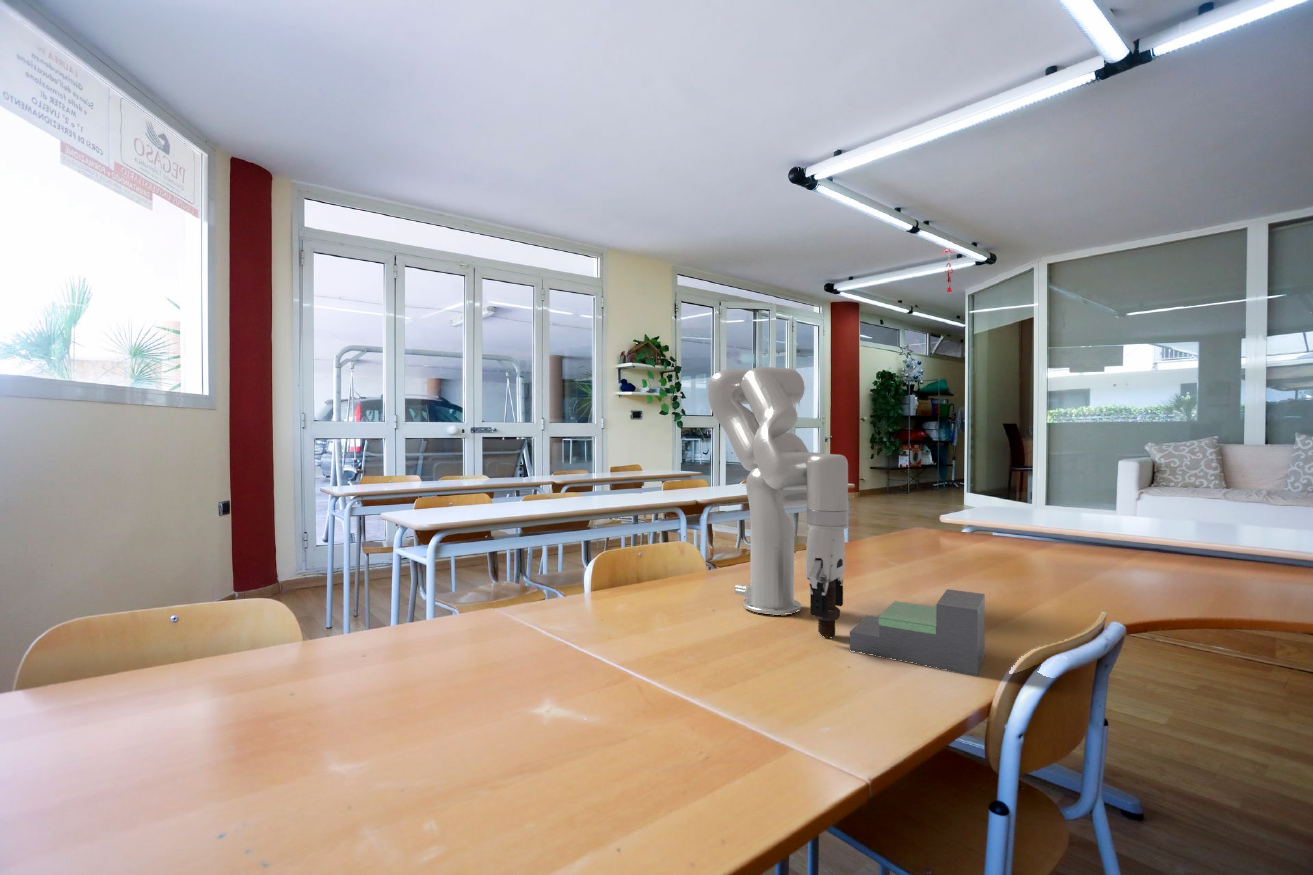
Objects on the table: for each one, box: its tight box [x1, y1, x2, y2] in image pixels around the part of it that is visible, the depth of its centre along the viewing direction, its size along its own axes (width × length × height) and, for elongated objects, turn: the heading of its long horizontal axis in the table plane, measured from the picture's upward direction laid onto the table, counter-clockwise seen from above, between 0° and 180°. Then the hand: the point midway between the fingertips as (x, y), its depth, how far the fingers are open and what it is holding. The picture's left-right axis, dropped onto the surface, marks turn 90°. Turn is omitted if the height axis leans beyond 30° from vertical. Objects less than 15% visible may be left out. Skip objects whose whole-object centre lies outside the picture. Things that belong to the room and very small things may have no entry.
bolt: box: [814, 559, 843, 638], centre depth 115 cm, size 6×5×15 cm
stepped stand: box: [849, 588, 986, 677], centre depth 106 cm, size 20×12×10 cm, turn 57°
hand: (827, 610), depth 115 cm, fingers open, 8 cm apart
